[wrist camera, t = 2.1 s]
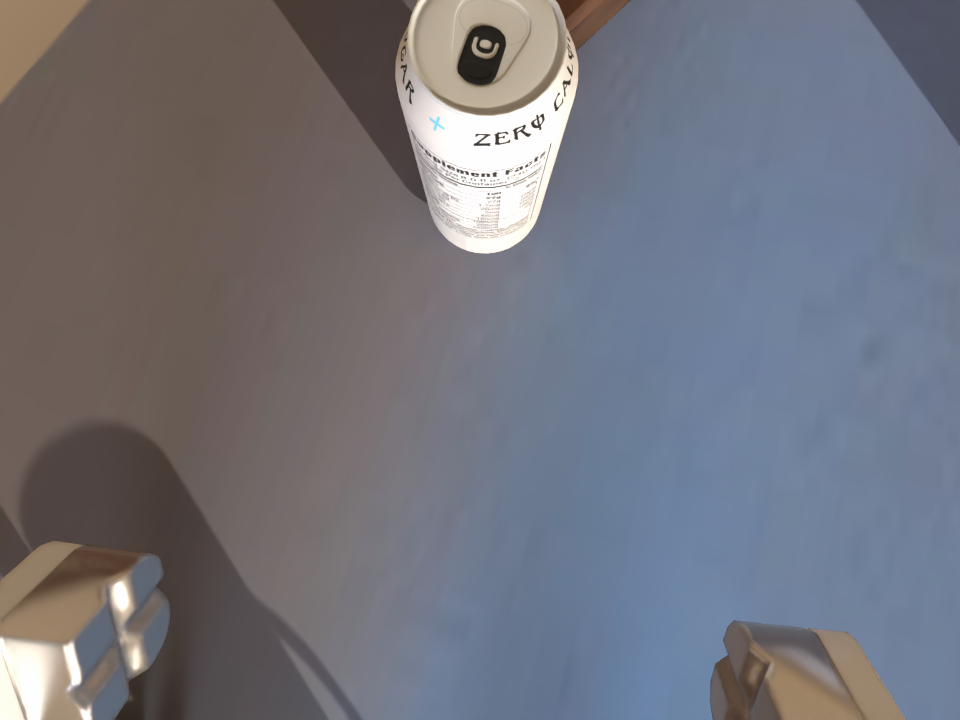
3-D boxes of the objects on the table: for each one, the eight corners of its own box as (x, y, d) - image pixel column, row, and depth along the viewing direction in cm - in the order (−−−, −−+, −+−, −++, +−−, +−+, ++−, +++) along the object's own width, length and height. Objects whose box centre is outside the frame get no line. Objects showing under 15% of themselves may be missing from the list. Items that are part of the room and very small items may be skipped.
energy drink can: (553, 169, 33) (613, -23, 18) (519, 271, 32) (552, 162, 17) (450, 136, 33) (424, -82, 18) (415, 238, 33) (359, 100, 18)
